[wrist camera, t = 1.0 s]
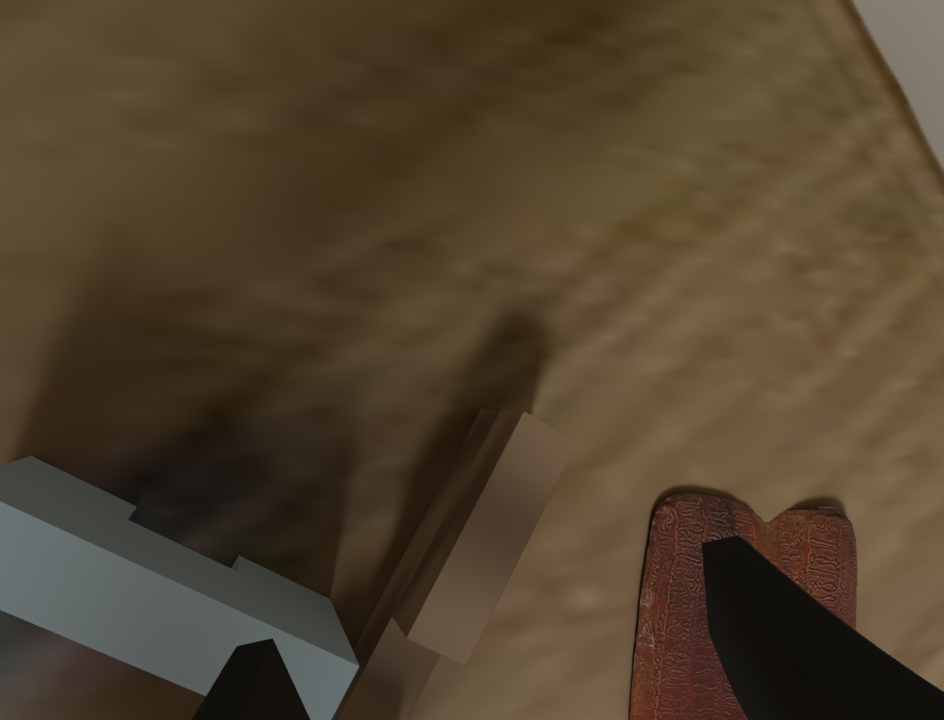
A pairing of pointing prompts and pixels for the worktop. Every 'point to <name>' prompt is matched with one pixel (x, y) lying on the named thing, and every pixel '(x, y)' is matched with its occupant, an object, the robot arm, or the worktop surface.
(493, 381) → the worktop surface
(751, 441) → the worktop surface
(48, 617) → the grey notched plate
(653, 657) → the wooden tablet
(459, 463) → the walnut slotted rail
